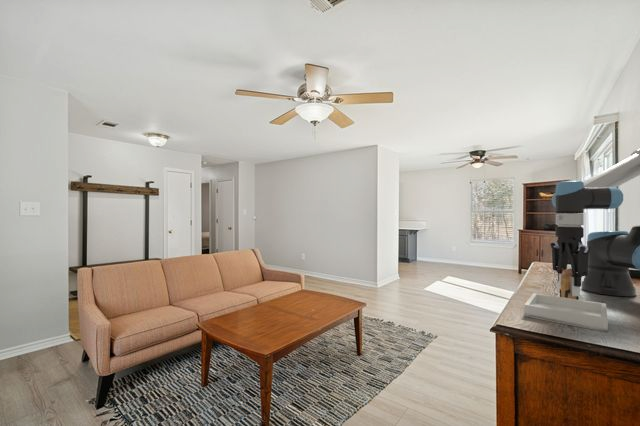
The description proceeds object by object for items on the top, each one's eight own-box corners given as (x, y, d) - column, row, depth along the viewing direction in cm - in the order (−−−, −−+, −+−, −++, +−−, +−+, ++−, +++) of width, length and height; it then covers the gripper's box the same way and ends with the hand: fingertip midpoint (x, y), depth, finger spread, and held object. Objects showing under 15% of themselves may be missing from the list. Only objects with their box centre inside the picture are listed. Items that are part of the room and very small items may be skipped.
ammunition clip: (566, 306, 101) (566, 270, 101) (559, 304, 102) (559, 269, 102) (578, 301, 106) (578, 267, 106) (572, 300, 108) (572, 266, 108)
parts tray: (533, 303, 104) (533, 293, 104) (605, 315, 91) (605, 303, 91) (524, 316, 90) (524, 304, 90) (607, 332, 78) (607, 318, 78)
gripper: (539, 225, 113) (539, 288, 112) (581, 227, 96) (581, 301, 96) (559, 225, 113) (559, 287, 113) (603, 227, 96) (603, 300, 96)
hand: (569, 293), depth 104 cm, fingers closed on ammunition clip, 4 cm apart
